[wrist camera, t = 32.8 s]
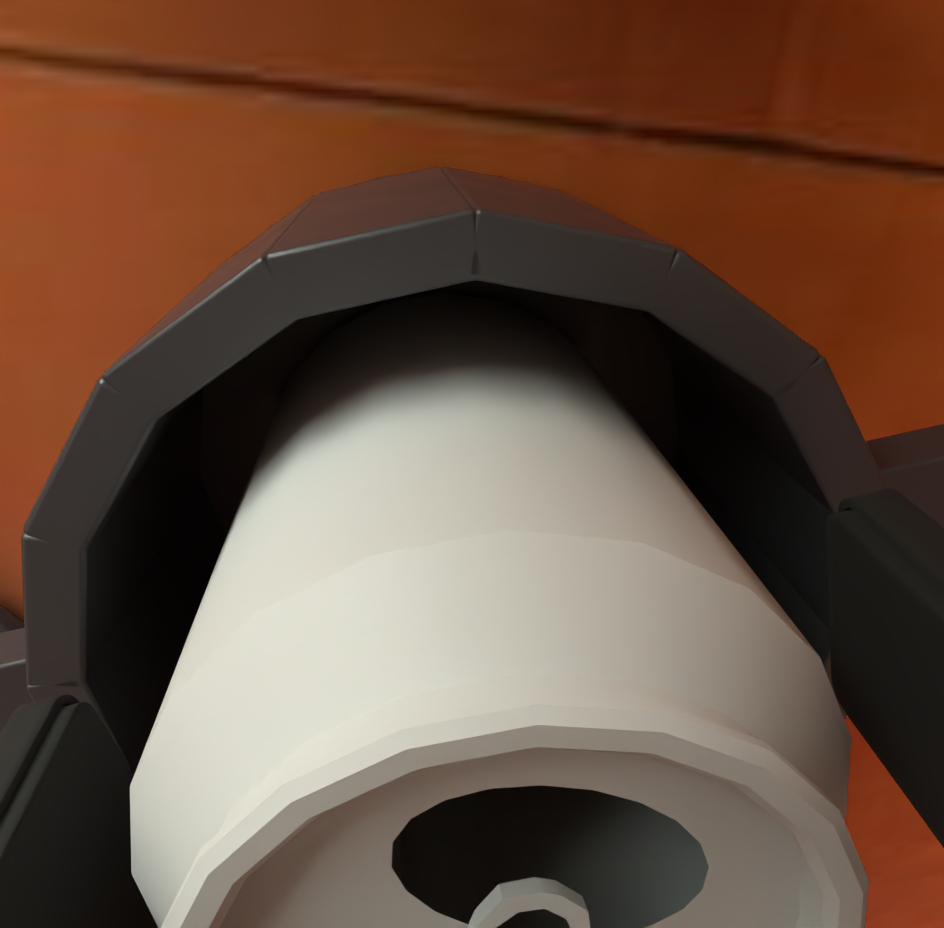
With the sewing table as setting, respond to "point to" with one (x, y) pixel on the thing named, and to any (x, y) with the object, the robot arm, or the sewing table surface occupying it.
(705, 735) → the can
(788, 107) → the sewing table surface
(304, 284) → the pot
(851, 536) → the robot arm
